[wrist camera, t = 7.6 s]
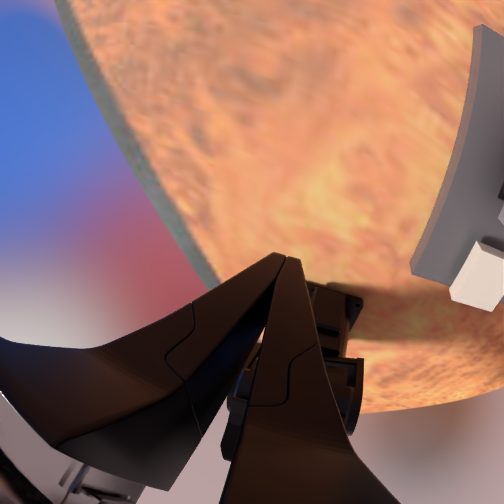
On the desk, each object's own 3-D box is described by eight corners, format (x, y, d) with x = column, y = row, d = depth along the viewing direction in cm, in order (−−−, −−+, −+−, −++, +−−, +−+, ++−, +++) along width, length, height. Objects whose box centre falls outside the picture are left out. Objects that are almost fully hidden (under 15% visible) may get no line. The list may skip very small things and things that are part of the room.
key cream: (484, 292, 17) (491, 312, 15) (446, 280, 18) (451, 300, 16) (510, 249, 14) (521, 267, 12) (471, 232, 15) (481, 250, 13)
